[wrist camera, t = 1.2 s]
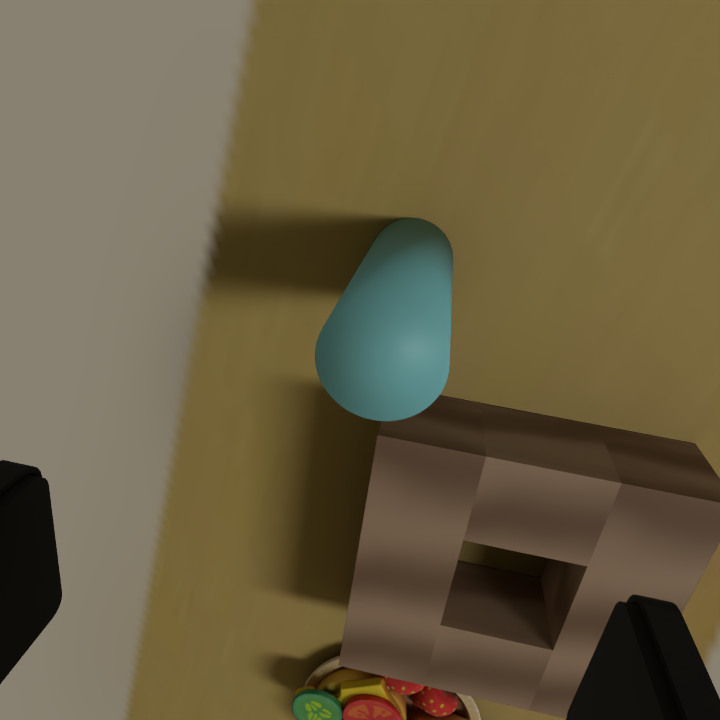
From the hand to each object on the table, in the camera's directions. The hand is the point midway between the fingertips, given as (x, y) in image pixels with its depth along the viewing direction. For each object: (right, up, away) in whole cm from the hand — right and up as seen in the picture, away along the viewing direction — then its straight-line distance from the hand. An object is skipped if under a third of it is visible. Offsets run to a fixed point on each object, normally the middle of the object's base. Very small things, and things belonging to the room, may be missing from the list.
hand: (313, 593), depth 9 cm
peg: (+3, +9, +18) cm, 21 cm away
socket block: (+9, -6, +24) cm, 26 cm away
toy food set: (+3, -21, +33) cm, 39 cm away
